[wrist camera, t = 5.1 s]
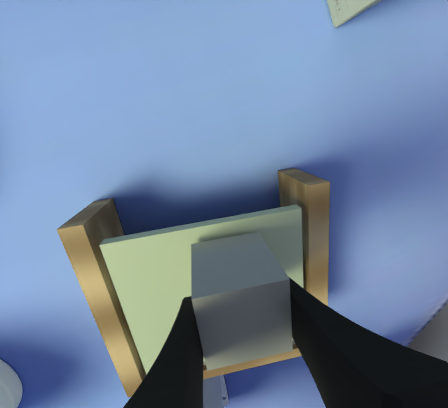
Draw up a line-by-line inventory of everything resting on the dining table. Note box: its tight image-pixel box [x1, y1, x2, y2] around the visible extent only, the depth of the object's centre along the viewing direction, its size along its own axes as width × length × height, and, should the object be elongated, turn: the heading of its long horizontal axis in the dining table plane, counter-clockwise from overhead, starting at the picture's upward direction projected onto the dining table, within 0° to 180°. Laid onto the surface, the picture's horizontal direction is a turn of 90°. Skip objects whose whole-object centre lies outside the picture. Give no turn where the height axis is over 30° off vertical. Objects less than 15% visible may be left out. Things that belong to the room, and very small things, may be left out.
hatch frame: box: [57, 168, 330, 397], centre depth 19 cm, size 15×17×6 cm
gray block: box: [191, 232, 293, 371], centre depth 13 cm, size 4×4×5 cm
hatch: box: [99, 205, 303, 375], centre depth 17 cm, size 12×13×1 cm
